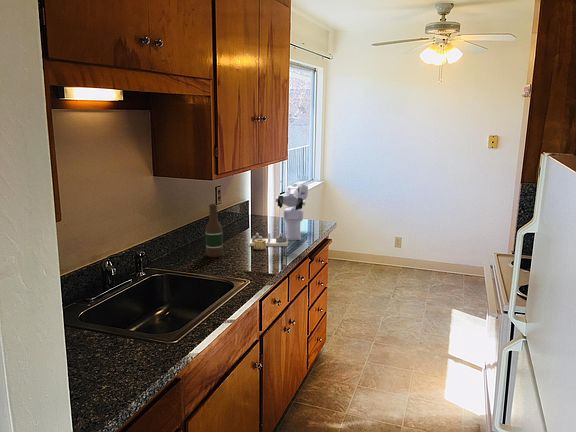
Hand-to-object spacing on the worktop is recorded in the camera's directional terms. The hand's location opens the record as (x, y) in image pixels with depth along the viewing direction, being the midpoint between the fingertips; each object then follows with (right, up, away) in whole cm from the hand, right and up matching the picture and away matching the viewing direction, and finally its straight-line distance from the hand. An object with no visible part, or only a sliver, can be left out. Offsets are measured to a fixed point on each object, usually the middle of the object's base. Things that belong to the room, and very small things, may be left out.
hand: (288, 207), depth 231 cm
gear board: (-10, -18, +13) cm, 25 cm away
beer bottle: (-34, -23, -6) cm, 42 cm away
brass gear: (-14, -20, +5) cm, 25 cm away
